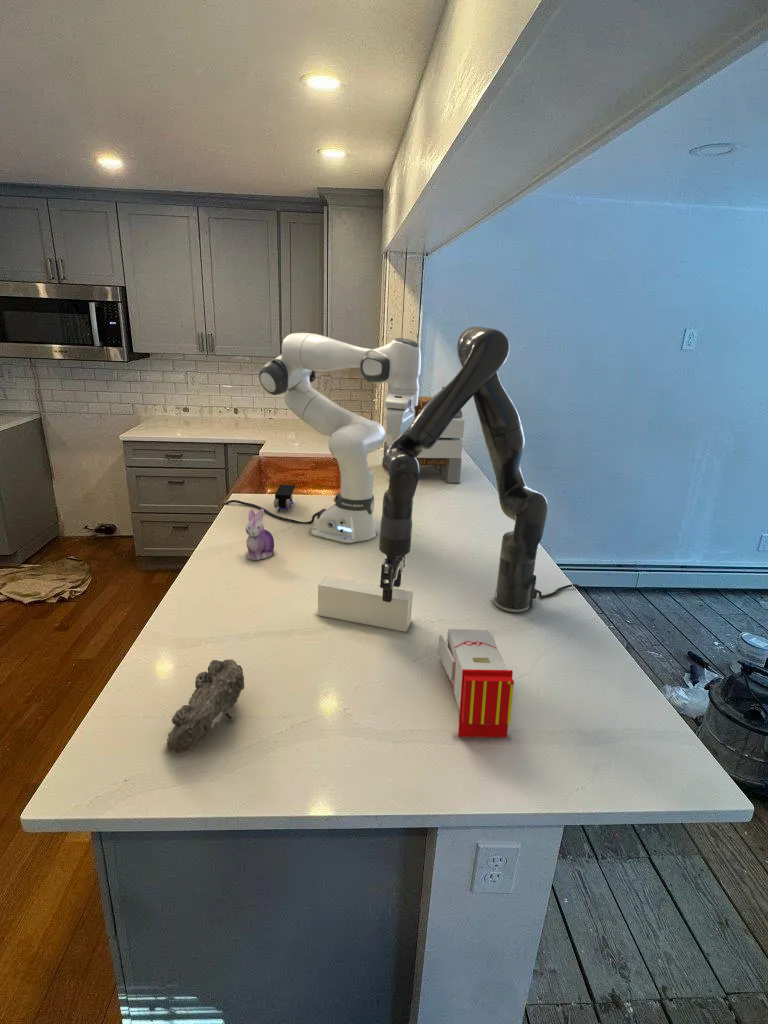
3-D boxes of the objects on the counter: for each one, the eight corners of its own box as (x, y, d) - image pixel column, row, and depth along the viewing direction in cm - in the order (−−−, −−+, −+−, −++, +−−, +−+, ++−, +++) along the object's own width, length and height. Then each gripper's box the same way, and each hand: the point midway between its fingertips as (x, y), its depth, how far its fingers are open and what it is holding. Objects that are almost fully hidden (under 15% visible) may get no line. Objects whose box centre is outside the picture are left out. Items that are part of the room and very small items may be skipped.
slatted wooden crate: (382, 463, 289) (386, 382, 275) (445, 464, 293) (451, 384, 279) (390, 482, 257) (394, 392, 243) (460, 483, 261) (468, 394, 247)
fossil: (192, 660, 117) (244, 628, 112) (224, 691, 120) (276, 661, 115) (142, 746, 98) (202, 712, 93) (182, 779, 101) (242, 748, 96)
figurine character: (291, 517, 214) (296, 500, 227) (290, 499, 211) (295, 483, 224) (273, 516, 214) (279, 500, 227) (272, 498, 210) (278, 482, 224)
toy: (488, 613, 130) (523, 677, 101) (484, 667, 133) (517, 744, 104) (435, 612, 130) (455, 676, 101) (432, 666, 133) (451, 743, 103)
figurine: (249, 563, 172) (248, 517, 167) (241, 550, 180) (239, 506, 175) (280, 558, 176) (279, 513, 171) (270, 546, 184) (269, 502, 179)
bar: (317, 615, 145) (318, 584, 142) (325, 606, 150) (325, 576, 147) (406, 631, 140) (408, 600, 137) (410, 622, 144) (412, 591, 141)
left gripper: (400, 392, 172) (397, 437, 176) (383, 402, 153) (380, 452, 158) (420, 394, 170) (417, 439, 175) (405, 404, 151) (402, 454, 156)
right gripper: (403, 545, 127) (399, 609, 132) (417, 525, 140) (412, 584, 145) (372, 540, 129) (368, 603, 134) (388, 520, 142) (384, 579, 147)
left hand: (399, 445), depth 166 cm, fingers open, 8 cm apart
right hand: (391, 593), depth 140 cm, fingers open, 8 cm apart
